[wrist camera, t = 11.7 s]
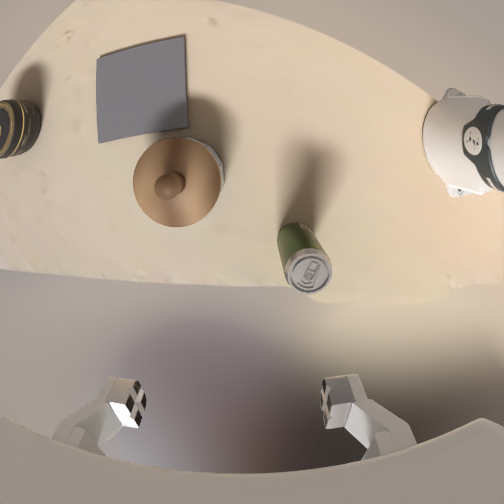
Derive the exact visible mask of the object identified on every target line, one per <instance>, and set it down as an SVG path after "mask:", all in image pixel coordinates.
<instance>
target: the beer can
mask: <svg viewBox="0 0 504 504" xmlns="http://www.w3.org/2000/svg"><path fill="white" fill-rule="evenodd" d="M277 244H278V249H279V253H280V257H281V261H282V266H283V270H284V274H285V278H286V280H287V282H288V284H289V285H290V286H291V287H292V288H293V289H294V290H295V291H297V292H299V293H301V294H307V295H308V294H315V293H317V292H319V291H321V290H322V289H324V288H325V287H326V286H327V284H328V283H329V282H330V279H331V276H332V265H331V262H330V259H329V257H328V256H327V254H326V252H325V251H324V249H323V248H322V246H321V245H320V243H319V241H318V240H317V238H316V237H315V235H314V234H313V232H312V231H311V230H310V228H309V227H308V226H306V225H304V224H302V223H298V222H297V223H290V224H288V225H286V226H285V227H284V228H282V229H281V231H280V232H279V234H278V238H277Z"/></svg>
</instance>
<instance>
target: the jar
mask: <svg viewBox="0 0 504 504" xmlns="http://www.w3.org/2000/svg"><path fill="white" fill-rule="evenodd" d="M40 126H41V118H40V113H39V110H38V108H37V107H36V106H35V105H34V104H32V103H30V102H28V101H19V100H13V99H11V100H3V101H0V159H2V158H8V157H11V156H16V155H20V154H23V153H24V152H26V151H28V150H29V149H30V148H31V147H32V146H33V145H34V143H35V142H36V140H37V138H38V135H39V132H40Z"/></svg>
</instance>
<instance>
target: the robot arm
mask: <svg viewBox="0 0 504 504" xmlns="http://www.w3.org/2000/svg"><path fill="white" fill-rule="evenodd" d="M423 144H424V149H425V153H426V157H427V159H428V162H429V164H430V166H431V167H432V169H433V171H434V172H435V173H436V174H437V175H438V176H439V177H440V179H441V180H442V181H443V182H444V184H445V187H446V190H447V192H448V194H449V195H450V196H451V197H460V196H464V195H469V194H473V193H476V194H481V195H482V194H483V193H484V192H489V191H492V190H497V191H500V192H503V193H504V105H501V104H490V101H489V100H487V99H483V98H482V97H481V96H466V95H465V94H463V93H461V92H460V91H458V90H456V89H454V88H450V89H448V90H447V91H446V93H445V95H444V97H443V99H442V100H441V101H439V102H438V103H436V104H435V105H434V106H432V108H431V109H430V110H429V112H428V114H427V116H426V119H425V122H424V127H423ZM458 189H459V191H458ZM322 387H323V389H322V390H321V393H320V403H321V409H322V410H323V411H324V422H325V427H326V429H330V428H338V427H345V428H346V429H347V430H348V431H349V432H350V433H351V434H352V435H353V436H354V437H355V438H357V439H358V440H359V441H360V442H361V443H362V444H363V445H364V446H365V447H366V448H367V449H368V450H367V452H366V453H365V455H364V457H363V458H362V460H361V461H357V462H352V463H348V464H342V465H338V466H331V467H325V468H319V469H311V470H302V471H293V472H282V473H281V472H280V473H263V474H223V473H203V472H191V471H181V470H173V469H165V468H158V467H153V466H146V465H141V464H136V463H131V462H127V461H122V460H118V459H114V458H110V457H106V455H105V454H104V453H103V451H102V450H101V449H100V447H102V446H103V445H104V444H105V443H106V442H107V441H108V440H109V439H110V438H111V437H112V436H114V435H115V434H116V433H117V432H118V431H119V430H120V429H121V428H122V427H123V426H128V427H135V428H139V426H140V423H141V420H142V415H141V413H142V412H143V411H145V408H146V401H147V399H146V395H145V393H144V391H142V390H141V389H140V388H141V384H140V382H139V381H137V380H131V379H124V378H117V377H108V378H107V380H106V382H105V384H104V386H103V387H102V389H101V391H100V393H99V396H98V397H97V400H93V401H91V402H89V403H88V404H87V405H85V406H83V407H82V408H80V409H79V410H77V411H75V412H74V413H72V414H71V415H69V416H67V417H66V418H64V419H63V420H61V421H60V423H59V425H58V427H57V429H56V431H55V433H54V435H53V437H52V439H51V438H49V437H46V436H44V435H41V434H39V433H36V432H34V431H32V430H30V429H28V428H26V427H23V426H21V425H19V424H17V423H15V422H13V421H11V420H9V419H7V418H5V417H0V504H504V427H502V426H500V425H498V424H496V423H493V422H492V421H489V420H487V419H484V418H480V419H477V420H475V421H472V422H470V423H468V424H466V425H464V426H462V427H460V428H458V429H455V430H453V431H451V432H449V433H446V434H444V435H441V436H439V437H436V438H434V439H432V440H428V441H426V442H423V443H420V444H417V443H416V441H415V438H414V436H413V434H412V431H411V429H410V427H409V425H408V424H407V423H406V422H405V421H403V420H401V419H400V418H398V417H397V416H395V415H394V414H392V413H391V412H389V411H388V410H386V409H385V408H383V407H382V406H380V405H379V404H377V403H376V402H374V401H372V400H371V399H369V400H368V399H367V397H366V394H365V391H364V389H363V386H362V384H361V381H360V379H359V376H358V375H357V374H349V375H342V376H337V377H329V378H323V380H322Z"/></svg>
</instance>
